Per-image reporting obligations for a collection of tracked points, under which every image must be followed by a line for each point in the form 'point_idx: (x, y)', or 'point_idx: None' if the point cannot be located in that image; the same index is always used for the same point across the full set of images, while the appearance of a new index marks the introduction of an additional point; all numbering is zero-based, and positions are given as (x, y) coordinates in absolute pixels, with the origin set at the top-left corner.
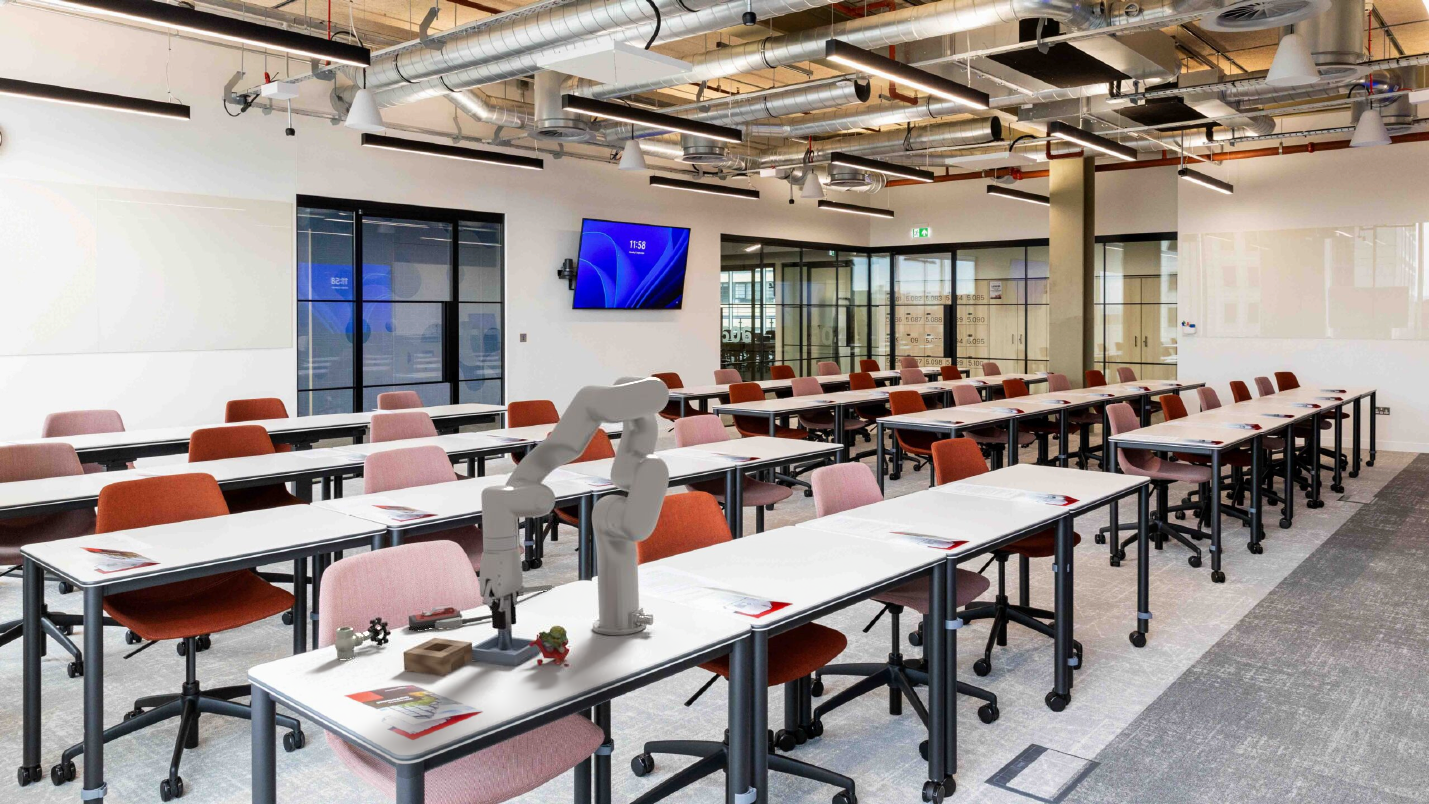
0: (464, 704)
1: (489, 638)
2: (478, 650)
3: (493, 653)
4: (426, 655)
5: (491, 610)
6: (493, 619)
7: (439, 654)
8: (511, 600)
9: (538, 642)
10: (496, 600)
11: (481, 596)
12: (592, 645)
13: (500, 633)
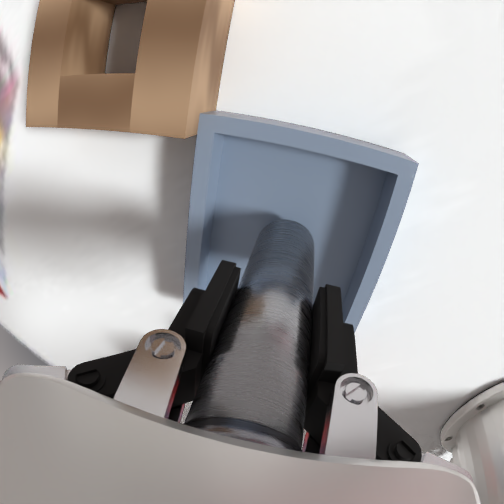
0: (3, 260)
1: (365, 148)
2: (194, 167)
3: (187, 239)
4: (30, 59)
5: (151, 339)
6: (182, 307)
7: (41, 97)
8: (320, 440)
9: None
10: (203, 409)
11: (23, 374)
12: (386, 413)
13: (241, 278)
